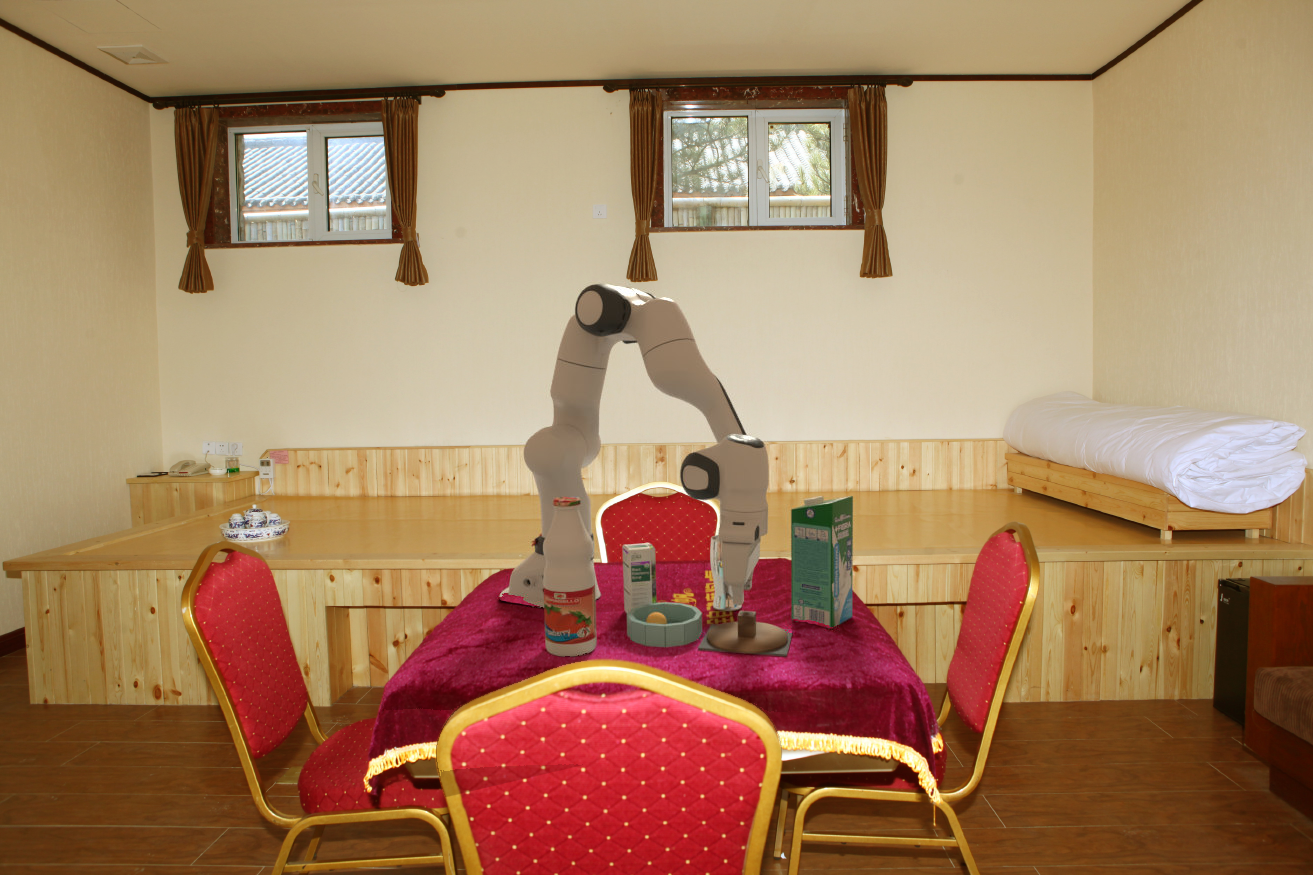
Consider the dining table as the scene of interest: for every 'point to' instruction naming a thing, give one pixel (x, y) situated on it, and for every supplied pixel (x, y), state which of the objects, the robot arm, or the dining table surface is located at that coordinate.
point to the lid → (747, 635)
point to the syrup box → (639, 575)
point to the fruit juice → (569, 583)
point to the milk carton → (822, 560)
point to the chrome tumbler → (720, 579)
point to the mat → (779, 652)
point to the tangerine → (656, 618)
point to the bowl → (677, 631)
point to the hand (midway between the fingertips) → (742, 596)
